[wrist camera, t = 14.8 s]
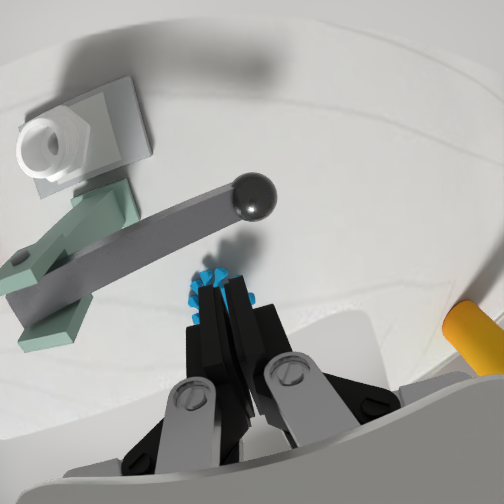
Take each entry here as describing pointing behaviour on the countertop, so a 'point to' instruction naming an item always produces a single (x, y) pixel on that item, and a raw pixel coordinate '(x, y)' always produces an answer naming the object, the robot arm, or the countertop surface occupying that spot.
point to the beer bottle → (475, 338)
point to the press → (83, 205)
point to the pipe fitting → (53, 144)
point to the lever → (143, 245)
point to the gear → (206, 278)
